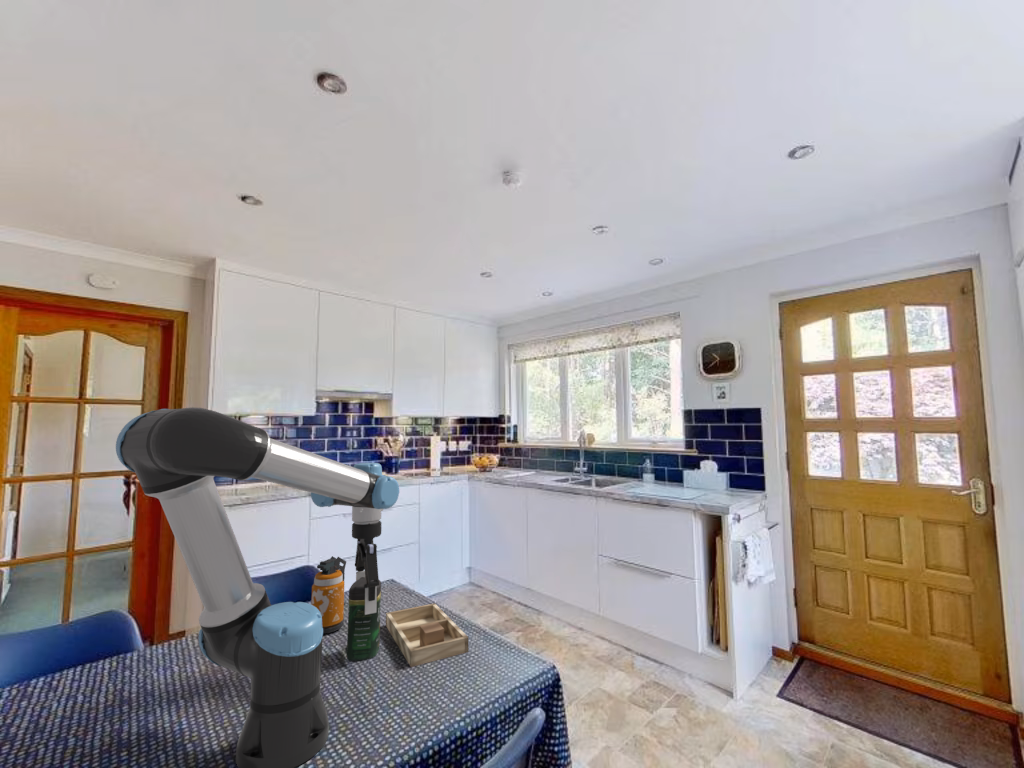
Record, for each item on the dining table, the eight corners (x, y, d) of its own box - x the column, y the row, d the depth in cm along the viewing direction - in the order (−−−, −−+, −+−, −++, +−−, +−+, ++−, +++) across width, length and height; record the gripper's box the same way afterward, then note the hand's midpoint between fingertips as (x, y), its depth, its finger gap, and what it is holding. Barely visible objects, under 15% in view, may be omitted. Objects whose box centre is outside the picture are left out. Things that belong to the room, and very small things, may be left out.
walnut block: (444, 649, 115) (444, 628, 116) (425, 653, 113) (425, 633, 113) (437, 641, 119) (437, 621, 120) (419, 645, 117) (419, 625, 118)
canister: (303, 634, 127) (305, 561, 129) (329, 618, 137) (331, 552, 140) (329, 637, 124) (331, 563, 127) (353, 621, 135) (355, 553, 137)
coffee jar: (376, 662, 110) (378, 584, 112) (343, 665, 109) (345, 586, 111) (382, 644, 120) (383, 573, 122) (351, 646, 119) (353, 575, 121)
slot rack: (468, 655, 113) (468, 637, 114) (410, 670, 106) (411, 651, 107) (434, 617, 137) (434, 603, 137) (385, 628, 130) (386, 612, 130)
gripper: (392, 528, 109) (391, 618, 107) (372, 512, 131) (371, 587, 129) (360, 531, 106) (358, 625, 103) (345, 515, 127) (343, 592, 125)
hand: (365, 604), depth 116 cm, fingers open, 13 cm apart
